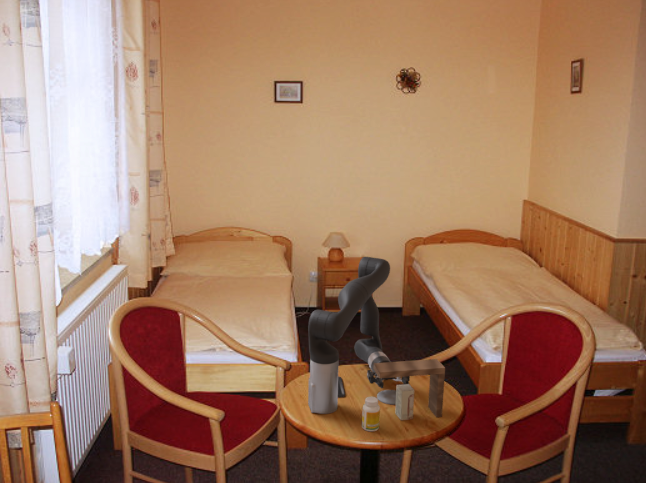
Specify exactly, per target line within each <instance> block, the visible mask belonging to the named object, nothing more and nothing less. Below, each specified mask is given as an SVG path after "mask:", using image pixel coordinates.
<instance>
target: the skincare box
mask: <svg viewBox="0 0 646 483" xmlns="http://www.w3.org/2000/svg"><path fill="white" fill-rule="evenodd" d="M395 389H396V405H395V410H394V412H395V413H394V414H395V415H396V416H397V417H398V419H399V420H400V421H407V420H413V419H414V404H415V403H414V402H415V389H414V387H412V386H411V384H409V383H408V384H403V383H402V384H396V388H395Z"/></svg>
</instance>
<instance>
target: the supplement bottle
mask: <svg viewBox="0 0 646 483" xmlns="http://www.w3.org/2000/svg"><path fill="white" fill-rule="evenodd" d="M361 412H362V413H361V416H362V417H361V428H362V429H363V430H364V431H367V432H376V431H378V430H379V429H380V415H381V407H380V405H379V400H378V398H377V396H367V397H365V398H364V404H363V405H362V411H361Z"/></svg>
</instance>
